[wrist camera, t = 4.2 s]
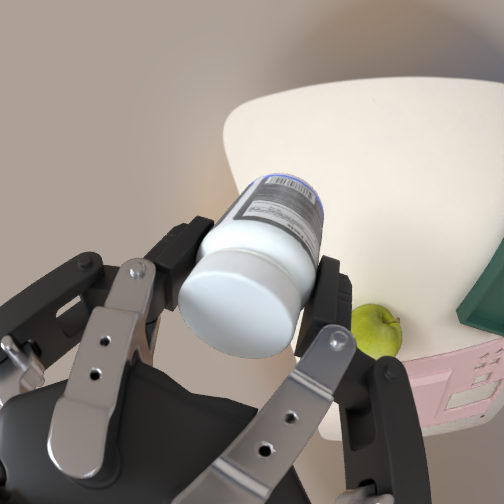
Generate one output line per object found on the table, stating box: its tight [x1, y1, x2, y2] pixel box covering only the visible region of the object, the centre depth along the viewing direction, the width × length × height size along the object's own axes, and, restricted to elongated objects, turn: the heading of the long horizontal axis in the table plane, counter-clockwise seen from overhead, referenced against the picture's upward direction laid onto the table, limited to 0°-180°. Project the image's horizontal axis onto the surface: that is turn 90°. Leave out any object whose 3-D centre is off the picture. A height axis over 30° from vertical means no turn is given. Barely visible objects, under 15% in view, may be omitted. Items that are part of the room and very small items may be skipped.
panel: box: [401, 337, 504, 428], centre depth 38 cm, size 35×33×2 cm
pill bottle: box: [178, 173, 324, 359], centre depth 12 cm, size 5×5×8 cm
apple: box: [351, 304, 402, 360], centre depth 29 cm, size 8×9×8 cm
